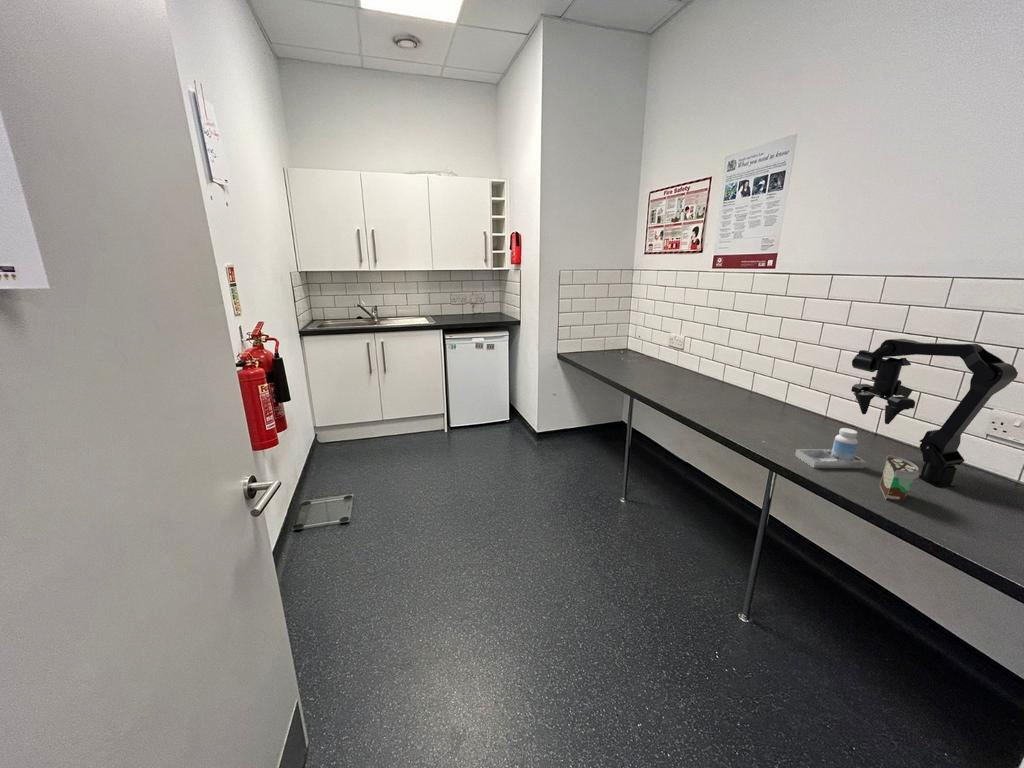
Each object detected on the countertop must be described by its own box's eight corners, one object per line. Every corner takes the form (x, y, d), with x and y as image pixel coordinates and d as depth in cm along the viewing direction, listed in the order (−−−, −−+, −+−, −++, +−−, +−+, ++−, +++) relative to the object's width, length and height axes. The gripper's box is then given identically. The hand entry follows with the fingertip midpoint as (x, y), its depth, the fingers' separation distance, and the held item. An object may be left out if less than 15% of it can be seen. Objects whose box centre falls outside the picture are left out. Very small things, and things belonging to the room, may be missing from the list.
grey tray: (863, 468, 137) (865, 461, 136) (813, 468, 136) (815, 461, 136) (842, 455, 146) (844, 449, 145) (795, 455, 145) (796, 449, 144)
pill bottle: (856, 466, 138) (864, 435, 134) (835, 464, 139) (843, 433, 135) (845, 458, 143) (853, 427, 140) (826, 456, 144) (833, 426, 141)
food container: (915, 509, 114) (926, 476, 112) (886, 502, 118) (896, 470, 115) (905, 489, 124) (914, 459, 122) (878, 483, 128) (887, 454, 125)
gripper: (938, 383, 131) (923, 429, 136) (885, 368, 149) (874, 409, 154) (904, 383, 131) (890, 429, 135) (855, 368, 149) (844, 409, 153)
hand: (875, 419), depth 144 cm, fingers open, 9 cm apart
